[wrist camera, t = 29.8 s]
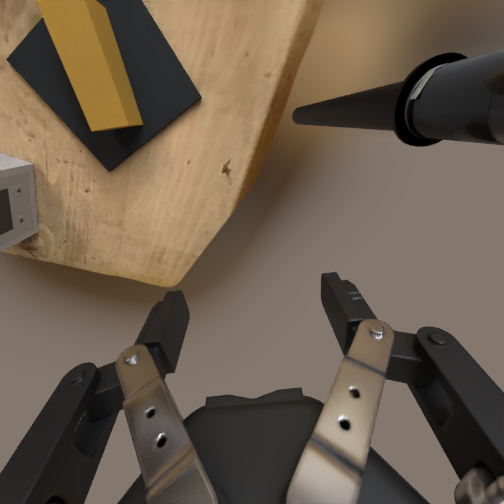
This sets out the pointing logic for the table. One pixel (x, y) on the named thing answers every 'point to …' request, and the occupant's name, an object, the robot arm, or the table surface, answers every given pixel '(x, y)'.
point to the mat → (138, 71)
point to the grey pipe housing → (16, 201)
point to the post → (92, 62)
